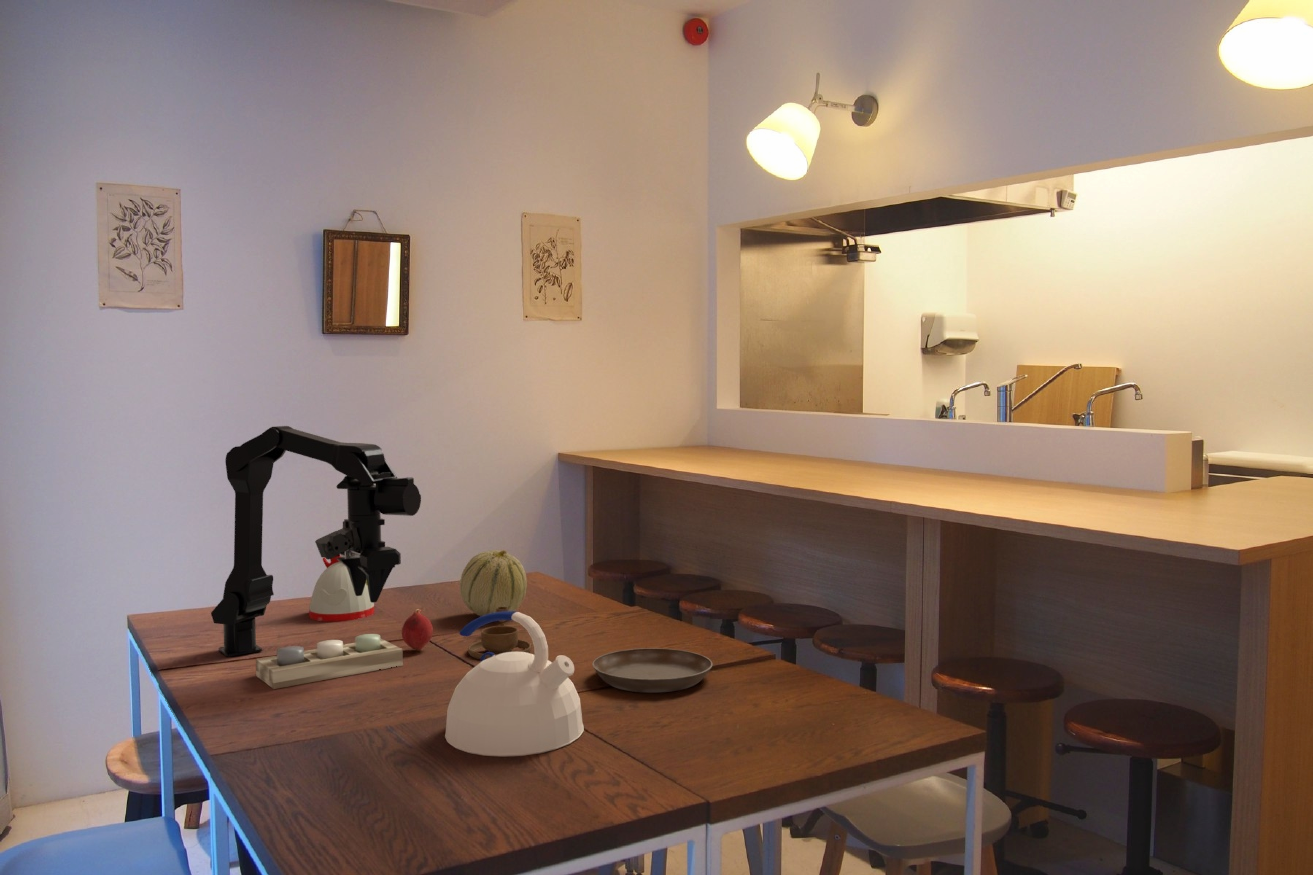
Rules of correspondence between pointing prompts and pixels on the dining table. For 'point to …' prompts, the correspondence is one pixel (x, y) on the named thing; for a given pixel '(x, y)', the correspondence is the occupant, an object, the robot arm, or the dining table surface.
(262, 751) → the dining table surface
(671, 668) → the plant saucer
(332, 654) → the button cream
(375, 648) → the button sage
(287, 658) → the button slate
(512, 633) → the place setting
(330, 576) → the kitchen timer
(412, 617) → the onion
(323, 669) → the wooden compartment tray
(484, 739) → the kettle
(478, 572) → the cantaloupe
